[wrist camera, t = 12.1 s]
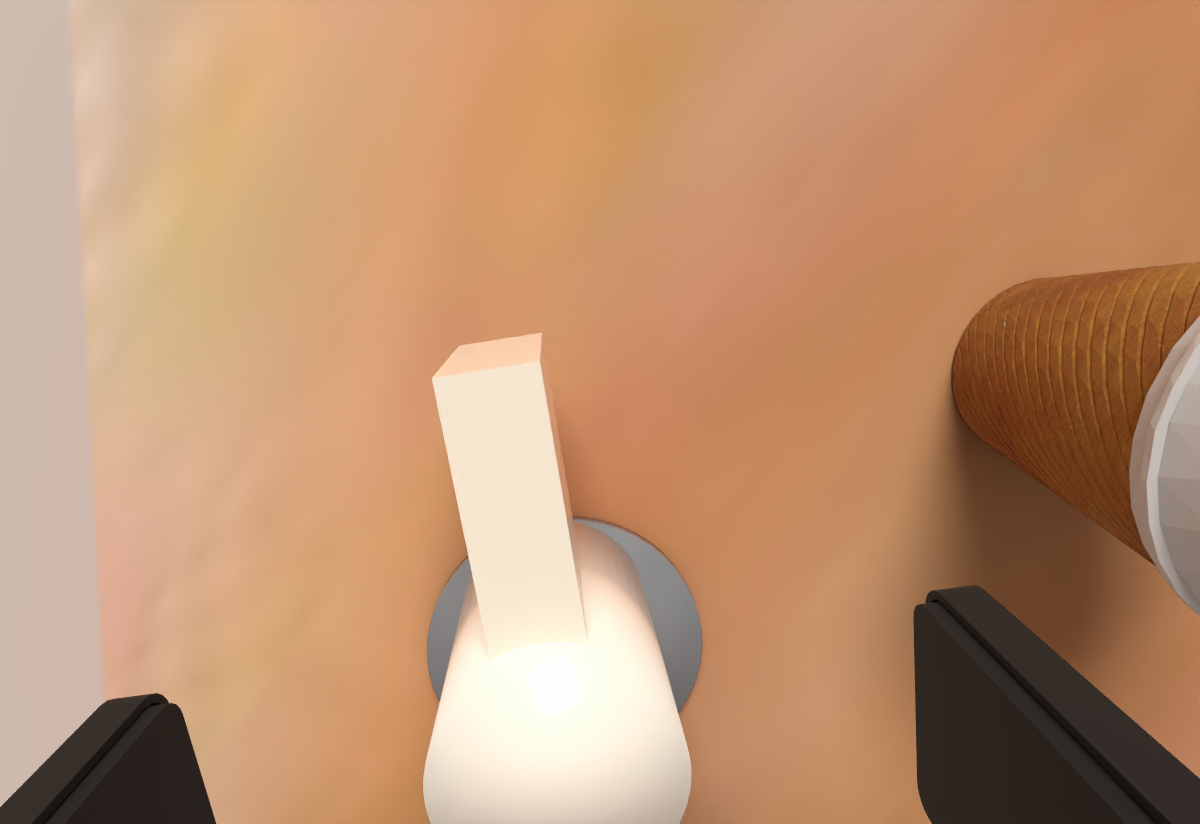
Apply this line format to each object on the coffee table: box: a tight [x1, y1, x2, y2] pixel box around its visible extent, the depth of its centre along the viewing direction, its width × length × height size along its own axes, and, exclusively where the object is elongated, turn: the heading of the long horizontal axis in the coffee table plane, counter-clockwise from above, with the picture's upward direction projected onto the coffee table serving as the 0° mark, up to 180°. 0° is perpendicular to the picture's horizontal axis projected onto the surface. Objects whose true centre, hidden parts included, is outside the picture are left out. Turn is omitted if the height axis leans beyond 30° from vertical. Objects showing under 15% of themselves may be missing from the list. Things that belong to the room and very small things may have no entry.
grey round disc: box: [427, 517, 702, 712], centre depth 27 cm, size 10×10×1 cm
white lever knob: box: [423, 333, 692, 824], centre depth 21 cm, size 13×6×9 cm, turn 8°
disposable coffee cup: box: [952, 262, 1200, 617], centre depth 20 cm, size 10×10×12 cm
